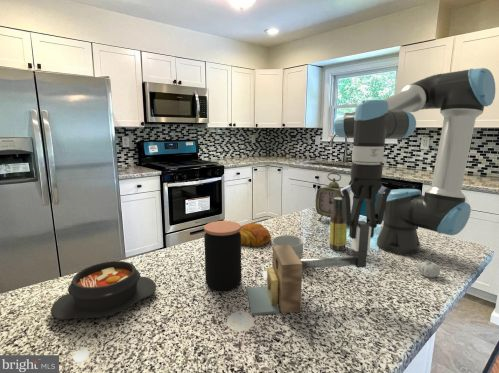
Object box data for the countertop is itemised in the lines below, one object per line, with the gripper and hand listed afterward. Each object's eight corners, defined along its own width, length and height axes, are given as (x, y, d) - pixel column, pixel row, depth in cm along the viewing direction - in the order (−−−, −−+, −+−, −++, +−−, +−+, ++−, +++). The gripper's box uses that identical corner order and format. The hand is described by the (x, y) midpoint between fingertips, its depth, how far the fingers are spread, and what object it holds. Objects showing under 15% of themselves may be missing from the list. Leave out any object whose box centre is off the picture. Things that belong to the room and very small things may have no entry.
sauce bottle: (348, 247, 113) (352, 198, 109) (340, 252, 109) (343, 201, 105) (333, 243, 118) (336, 195, 114) (325, 247, 113) (328, 198, 110)
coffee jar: (246, 277, 90) (246, 222, 87) (233, 296, 80) (232, 234, 77) (215, 272, 93) (213, 219, 90) (199, 289, 83) (196, 230, 80)
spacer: (272, 290, 82) (272, 267, 80) (277, 305, 75) (278, 280, 74) (266, 290, 82) (267, 267, 80) (271, 305, 75) (272, 280, 73)
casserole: (48, 340, 63) (43, 305, 62) (54, 298, 79) (50, 269, 77) (163, 306, 76) (162, 276, 74) (149, 275, 91) (147, 250, 90)
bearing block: (288, 286, 85) (290, 244, 82) (300, 311, 73) (302, 263, 71) (272, 287, 84) (272, 245, 82) (281, 312, 73) (282, 264, 70)
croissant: (228, 245, 122) (226, 227, 120) (255, 231, 131) (253, 215, 129) (251, 255, 111) (249, 236, 109) (279, 239, 121) (277, 222, 118)
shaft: (360, 262, 81) (363, 220, 79) (365, 267, 78) (369, 224, 76) (290, 266, 79) (291, 223, 76) (292, 271, 76) (294, 226, 74)
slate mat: (270, 287, 84) (270, 285, 84) (279, 313, 73) (279, 310, 73) (246, 289, 84) (246, 287, 83) (251, 315, 72) (251, 312, 72)
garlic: (419, 278, 90) (421, 262, 89) (416, 270, 95) (417, 255, 94) (441, 281, 88) (444, 265, 87) (437, 273, 93) (439, 258, 92)
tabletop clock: (314, 220, 147) (316, 172, 142) (322, 216, 154) (325, 170, 149) (342, 227, 138) (345, 175, 133) (349, 222, 145) (352, 173, 140)
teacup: (302, 270, 95) (303, 247, 94) (269, 266, 97) (269, 244, 96) (303, 252, 109) (303, 232, 107) (274, 250, 111) (274, 230, 109)
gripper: (344, 164, 70) (338, 256, 74) (404, 164, 71) (395, 253, 76) (332, 161, 77) (327, 244, 81) (386, 161, 79) (379, 242, 83)
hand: (360, 248), depth 79 cm, fingers closed on shaft, 2 cm apart
